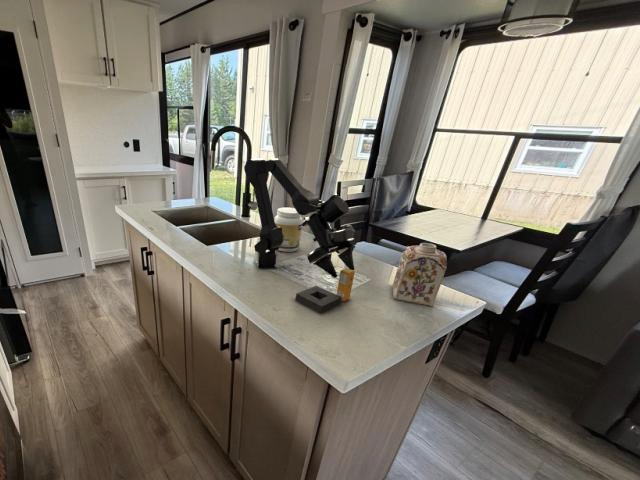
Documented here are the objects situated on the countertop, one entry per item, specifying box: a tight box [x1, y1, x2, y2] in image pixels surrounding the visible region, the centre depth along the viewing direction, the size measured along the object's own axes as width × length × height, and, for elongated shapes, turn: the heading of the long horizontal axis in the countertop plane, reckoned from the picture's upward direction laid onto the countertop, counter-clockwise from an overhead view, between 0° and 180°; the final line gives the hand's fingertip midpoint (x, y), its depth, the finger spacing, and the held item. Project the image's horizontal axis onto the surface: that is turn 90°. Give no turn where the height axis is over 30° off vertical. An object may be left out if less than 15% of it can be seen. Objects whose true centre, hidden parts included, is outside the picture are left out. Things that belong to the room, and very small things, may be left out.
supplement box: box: [336, 267, 356, 302], centre depth 104 cm, size 3×3×10 cm
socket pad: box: [294, 285, 342, 315], centre depth 102 cm, size 10×10×2 cm
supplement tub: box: [274, 207, 304, 253], centre depth 143 cm, size 12×12×17 cm
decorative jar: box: [392, 242, 448, 307], centre depth 106 cm, size 12×12×18 cm
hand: (344, 273), depth 103 cm, fingers open, 9 cm apart
